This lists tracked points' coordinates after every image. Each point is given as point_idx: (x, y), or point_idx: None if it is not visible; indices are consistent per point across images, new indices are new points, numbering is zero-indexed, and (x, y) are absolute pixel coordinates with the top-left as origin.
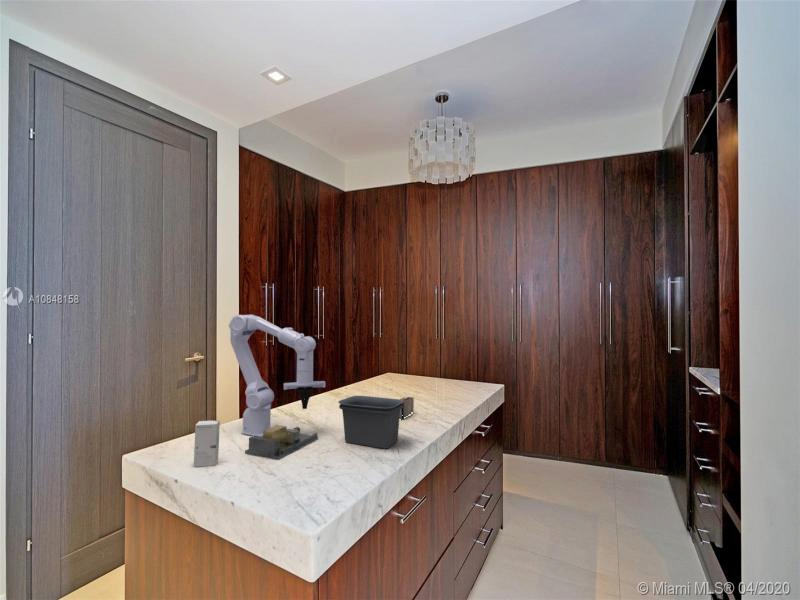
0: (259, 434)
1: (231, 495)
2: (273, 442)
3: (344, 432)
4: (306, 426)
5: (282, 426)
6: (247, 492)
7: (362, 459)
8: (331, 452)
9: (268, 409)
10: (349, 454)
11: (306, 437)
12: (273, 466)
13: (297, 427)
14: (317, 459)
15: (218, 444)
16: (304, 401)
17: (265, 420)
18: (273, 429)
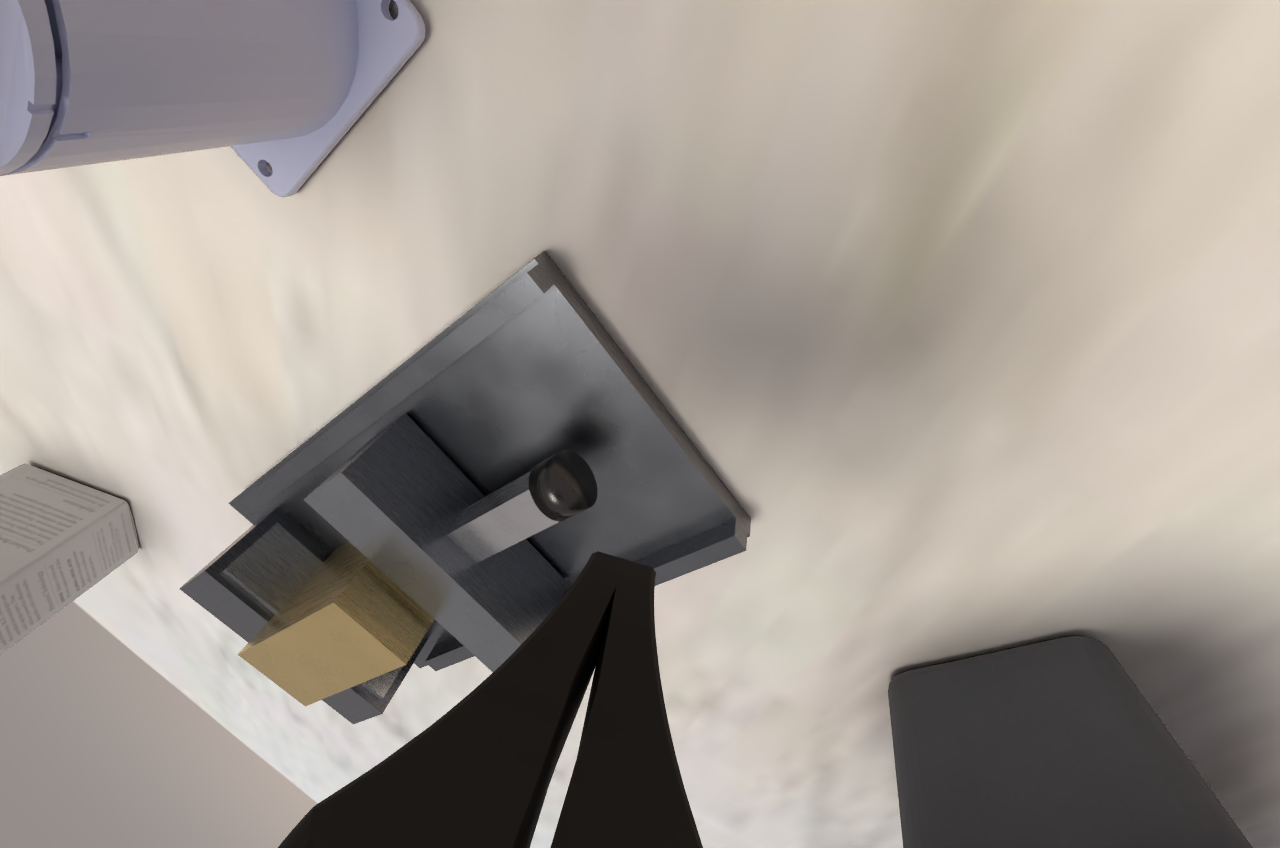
0: (258, 145)
1: (287, 766)
2: (350, 715)
3: (895, 745)
4: (863, 7)
5: (374, 652)
6: (331, 777)
7: (804, 841)
8: (715, 724)
9: (55, 100)
10: (787, 784)
11: (652, 507)
12: (407, 690)
13: (560, 509)
14: None
15: (35, 573)
16: (559, 749)
17: (188, 148)
18: (309, 669)
